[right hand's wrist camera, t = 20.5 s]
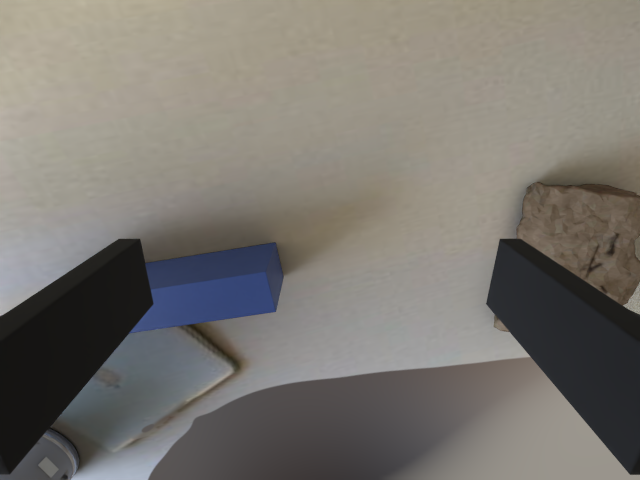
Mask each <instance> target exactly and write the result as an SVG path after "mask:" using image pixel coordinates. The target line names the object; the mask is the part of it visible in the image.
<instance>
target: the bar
mask: <svg viewBox="0 0 640 480" xmlns="http://www.w3.org/2000/svg"><path fill="white" fill-rule="evenodd" d="M145 265H146V270H147V275H148V279H149V284H150V289H151V294H152V298H153V303H154V304H153V305H152V307H151V308H150V309H149V310H148V311H147V313H146V314H145V315H144V316H143V317H142V318H141V320H140V321H139V322H138V323H137V324H136V326H135V327H134V328H133V329H132V330H131V332H130V333H134V332H141V331H148V330H155V329H161V328H168V327H175V326H182V325H189V324H196V323H203V322H209V321H216V320H223V319H230V318H237V317H244V316H250V315H257V314H264V313H271V312H276V309H277V305H278V300H279V295H280V291H281V286H282V282H283V277H284V276H283V272H282V268H281V264H280V260H279V255H278V251H277V247H276V243H269V244H263V245H257V246H250V247H244V248H238V249H231V250H225V251H219V252H213V253H206V254H200V255H194V256H187V257H181V258H175V259H169V260H162V261H156V262H150V263H145Z"/></svg>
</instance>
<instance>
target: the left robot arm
mask: <svg viewBox="0 0 640 480" xmlns="http://www.w3.org/2000/svg"><path fill="white" fill-rule="evenodd" d="M78 466H79V456H78V453H77V451H76V449H75V448H74V446H73V445H72V444H71V443H70V442H69V441H68V440H67V439H66V438H65V437H64V436H62V435H61V434H59V433H57V432H56V431H54V430H52V429H48V430H47V431H46V432H45V434H44V435H43V436H42V437H41V438H40V439H39V441H38V442H37V443H36V444H35V445H34V447H33V448H32V449H31V450H30V451H29V453H28V454H27V455H26V456H25V457H24V458H23V460H22V461H21V462H20V463H19V464H18V466H17V467H16V468H15V469H14V470H13V471H12V473H11V474H10V475H0V480H70V479H71V478H72V476H73V475H74V473H75V472H76V470H77V469H78Z"/></svg>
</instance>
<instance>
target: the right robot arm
mask: <svg viewBox="0 0 640 480" xmlns="http://www.w3.org/2000/svg"><path fill="white" fill-rule="evenodd" d="M153 304H154V303H153V298H152V294H151V289H150V284H149V279H148V275H147V270H146V265H145V260H144V256H143V251H142V246H141V241H140V239H118V240H117V241H115V242H114V243H112V244H111V245H109V246H108V247H106V248H104V249H103V250H101V251H100V252H98V253H97V254H95V255H94V256H92V257H91V258H89V259H88V260H86V261H85V262H83V263H82V264H80V265H79V266H77V267H76V268H74V269H73V270H71V271H69V272H68V273H66V274H65V275H63V276H62V277H60V278H59V279H57V280H56V281H54V282H53V283H51V284H50V285H48V286H47V287H45V288H44V289H42V290H41V291H39V292H38V293H36V294H35V295H33V296H31V297H30V298H28V299H27V300H25V301H24V302H22V303H21V304H19V305H18V306H16V307H15V308H13V309H12V310H10V311H9V312H7V313H6V314H4V315H2V316H0V475H10V474H11V473H12V471H13V470H14V469H15V468H16V467H17V466H18V464H19V463H20V462H21V461H22V460H23V458H24V457H25V456H26V455H27V454H28V453H29V451H30V450H31V449H32V448H33V447H34V445H35V444H36V443H37V442H38V441H39V439H40V438H41V437H42V436H43V435H44V434H45V432H46V431H47V430H48V429H49V428H50V426H51V425H52V424H53V423H54V422H55V420H56V419H57V418H58V417H59V416H60V415H61V413H62V412H63V411H64V410H65V409H66V407H67V406H68V405H69V404H70V403H71V402H72V400H73V399H74V398H75V397H76V396H77V394H78V393H79V392H80V391H81V390H82V388H83V387H84V386H85V385H86V384H87V383H88V381H89V380H90V379H91V378H92V377H93V375H94V374H95V373H96V372H97V371H98V369H99V368H100V367H101V366H102V365H103V364H104V362H105V361H106V360H107V359H108V358H109V356H110V355H111V354H112V353H113V352H114V350H115V349H116V348H117V347H118V346H119V345H120V343H121V342H122V341H123V340H124V339H125V337H126V336H127V335H128V334H129V333H130V332H131V330H132V329H133V328H134V327H135V326H136V324H137V323H138V322H139V321H140V320H141V318H142V317H143V316H144V315H145V314H146V313H147V311H148V310H149V309H150V308H151V307H152V305H153ZM486 304H487V305H488V307H489V308H490V309H491V310H492V311H493V313H494V314H495V315H496V316H497V317H498V318H499V320H500V321H501V322H502V323H503V324H504V326H505V327H506V328H507V329H508V330H509V332H510V333H511V334H512V335H513V336H514V337H515V339H516V340H517V341H518V342H519V343H520V345H521V346H522V347H523V348H524V349H525V350H526V352H527V353H528V354H529V355H530V356H531V358H532V359H533V360H534V361H535V362H536V364H537V365H538V366H539V367H540V368H541V369H542V371H543V372H544V373H545V374H546V375H547V377H548V378H549V379H550V380H551V381H552V383H553V384H554V385H555V386H556V387H557V388H558V390H559V391H560V392H561V393H562V394H563V396H564V397H565V398H566V399H567V400H568V402H569V403H570V404H571V405H572V406H573V407H574V409H575V410H576V411H577V412H578V413H579V415H580V416H581V417H582V418H583V419H584V420H585V422H586V423H587V424H588V425H589V426H590V428H591V429H592V430H593V431H594V432H595V434H596V435H597V436H598V437H599V438H600V439H601V441H602V442H603V443H604V444H605V445H606V447H607V448H608V449H609V450H610V451H611V453H612V454H613V455H614V456H615V457H616V458H617V460H618V461H619V462H620V463H621V464H622V466H623V467H624V468H625V469H626V470H627V471H628V473H629V474H630V475H640V315H639V314H637V313H635V312H633V311H630V310H628V309H627V308H625V307H624V306H622V305H621V304H619V303H618V302H616V301H615V300H613V299H612V298H610V297H609V296H607V295H605V294H604V293H602V292H601V291H599V290H598V289H596V288H595V287H593V286H592V285H590V284H589V283H587V282H586V281H584V280H583V279H581V278H580V277H578V276H577V275H575V274H574V273H572V272H571V271H569V270H567V269H566V268H564V267H563V266H561V265H560V264H558V263H557V262H555V261H554V260H552V259H551V258H549V257H548V256H546V255H545V254H543V253H542V252H540V251H539V250H537V249H536V248H534V247H532V246H531V245H529V244H528V243H526V242H525V241H523V240H522V239H500V241H499V246H498V251H497V256H496V260H495V265H494V270H493V275H492V279H491V284H490V289H489V294H488V298H487V303H486Z"/></svg>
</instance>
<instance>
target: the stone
mask: <svg viewBox="0 0 640 480" xmlns="http://www.w3.org/2000/svg"><path fill="white" fill-rule="evenodd" d="M522 214H523V217H522V219H521V221H520V224H519V225H518V227H517V239H522V240H523V241H525V242H526V243H528V244H529V245H531V246H532V247H534V248H536V249H537V250H539V251H540V252H542V253H543V254H545V255H546V256H548V257H549V258H551V259H552V260H554V261H555V262H557V263H558V264H560V265H561V266H563V267H564V268H566V269H567V270H569V271H571V272H572V273H574V274H575V275H577V276H578V277H580V278H581V279H583V280H584V281H586V282H587V283H589V284H590V285H592V286H593V287H595V288H596V289H598V290H599V291H601V292H602V293H604V294H605V295H607V296H609V297H610V298H612V299H613V300H615V301H616V302H618V303H619V304H621V305H622V306H623V305H624V304H626V303H628V300H629V298H630V297H631V296H632V295H633V293H634V291H635V289H636V287H637V286H638V284H639V282H640V261H639V260H638V259H637V257H636V255H635V246H634V241H635V240H636V239H637V238H638V236H639V235H640V196H638V195H636V193H634V192H630V191H625V190H621V189H617V188H614V187H611V186H608V185H595V184H585V185H581V186H572V185H569V186H560V185H551V186H549V185H543V184H542V183H540V182H536V183H533V184H532V185H531V186H529V187H528V188H527V190H526V195H525V197H524V200H523V208H522ZM494 320H495V321H494V327H495V328H497V329H499V330H501V331H506V332H509V330H508V329H507V328H506V327H505V326H504V324H503V323H502V322H501V321H500V320H499V318H498V317H497V316H496V315H495V317H494Z"/></svg>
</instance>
